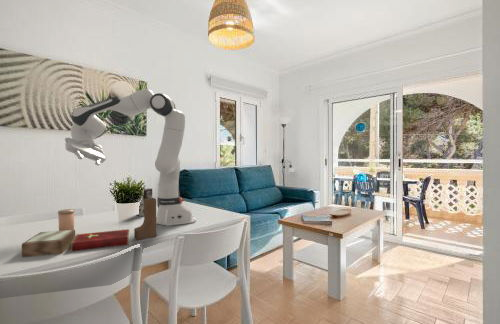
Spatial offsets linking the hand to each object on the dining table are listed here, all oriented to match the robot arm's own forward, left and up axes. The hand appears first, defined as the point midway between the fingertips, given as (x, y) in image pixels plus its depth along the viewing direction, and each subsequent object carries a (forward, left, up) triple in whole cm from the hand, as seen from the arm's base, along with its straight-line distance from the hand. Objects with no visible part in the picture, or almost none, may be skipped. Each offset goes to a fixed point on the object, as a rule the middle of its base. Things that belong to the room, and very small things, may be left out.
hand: (89, 161), depth 134 cm
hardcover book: (-11, +25, -36) cm, 45 cm away
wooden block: (-28, +21, -35) cm, 50 cm away
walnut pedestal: (+8, +26, -35) cm, 44 cm away
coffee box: (-23, -27, -35) cm, 50 cm away
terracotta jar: (+8, +9, -35) cm, 37 cm away
